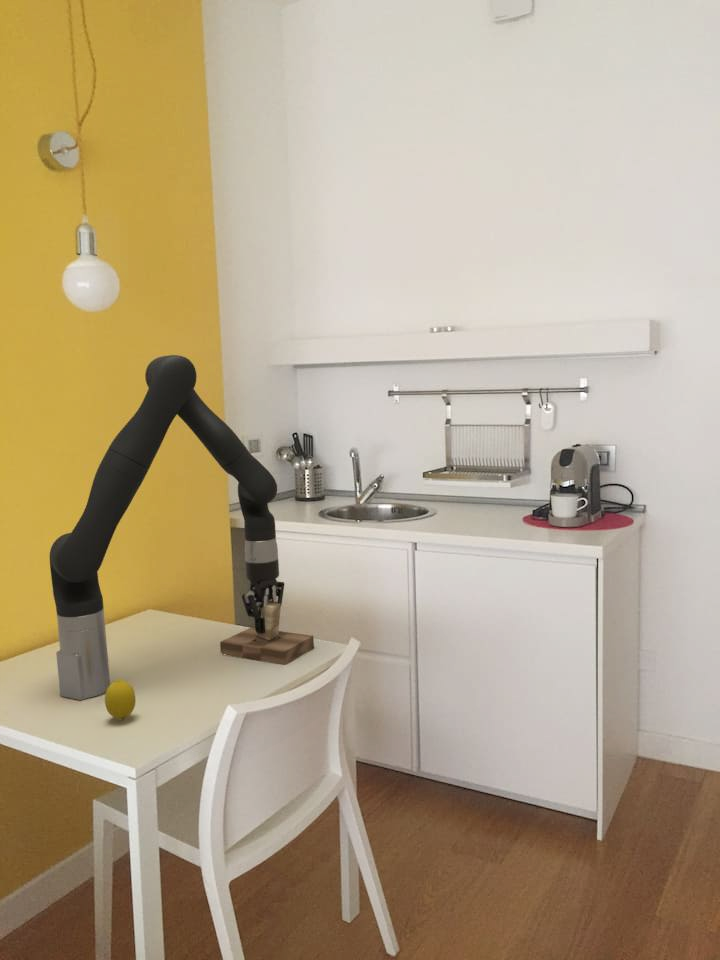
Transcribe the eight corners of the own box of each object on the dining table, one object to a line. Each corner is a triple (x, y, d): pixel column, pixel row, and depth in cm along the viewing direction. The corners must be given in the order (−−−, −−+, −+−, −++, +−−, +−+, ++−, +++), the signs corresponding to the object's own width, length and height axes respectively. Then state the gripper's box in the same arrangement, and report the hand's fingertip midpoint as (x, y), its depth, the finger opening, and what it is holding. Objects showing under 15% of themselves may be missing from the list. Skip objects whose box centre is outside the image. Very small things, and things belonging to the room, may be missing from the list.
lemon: (138, 722, 155) (134, 682, 154) (107, 728, 154) (103, 686, 153) (135, 712, 161) (132, 672, 160) (106, 717, 159) (102, 677, 158)
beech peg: (268, 653, 190) (271, 608, 188) (255, 648, 192) (258, 603, 190) (277, 648, 193) (281, 603, 191) (264, 643, 195) (268, 599, 193)
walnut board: (284, 664, 183) (284, 651, 183) (220, 654, 192) (220, 642, 191) (314, 648, 193) (313, 635, 193) (252, 639, 202) (251, 627, 202)
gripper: (256, 565, 182) (261, 641, 184) (292, 552, 194) (296, 623, 196) (229, 563, 185) (234, 637, 188) (266, 550, 198) (270, 620, 200)
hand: (266, 629), depth 192 cm, fingers closed on beech peg, 3 cm apart
